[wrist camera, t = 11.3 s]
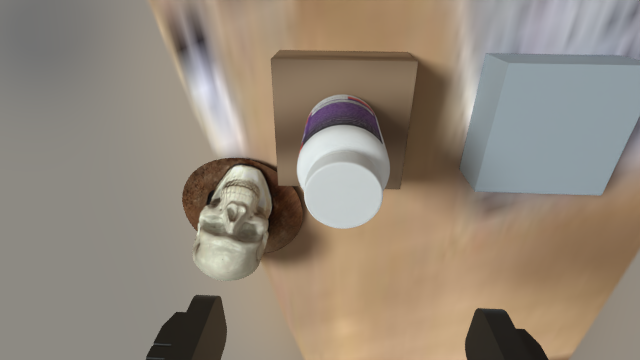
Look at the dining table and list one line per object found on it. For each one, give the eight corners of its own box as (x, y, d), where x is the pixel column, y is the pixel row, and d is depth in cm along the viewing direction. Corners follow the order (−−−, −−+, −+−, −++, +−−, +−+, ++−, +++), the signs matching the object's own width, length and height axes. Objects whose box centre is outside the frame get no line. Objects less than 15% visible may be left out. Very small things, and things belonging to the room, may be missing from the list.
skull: (179, 136, 30) (233, 207, 24) (274, 138, 37) (334, 193, 31) (159, 239, 35) (199, 318, 29) (246, 223, 42) (292, 284, 37)
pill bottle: (293, 111, 25) (270, 174, 17) (360, 79, 24) (373, 130, 15) (325, 171, 27) (319, 252, 19) (388, 145, 26) (413, 220, 18)
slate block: (486, 53, 26) (508, 63, 23) (619, 55, 26) (663, 65, 22) (459, 168, 31) (474, 191, 28) (571, 172, 31) (601, 195, 27)
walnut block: (279, 50, 27) (270, 59, 23) (407, 52, 27) (418, 61, 23) (284, 164, 32) (278, 185, 28) (393, 167, 31) (400, 189, 28)
